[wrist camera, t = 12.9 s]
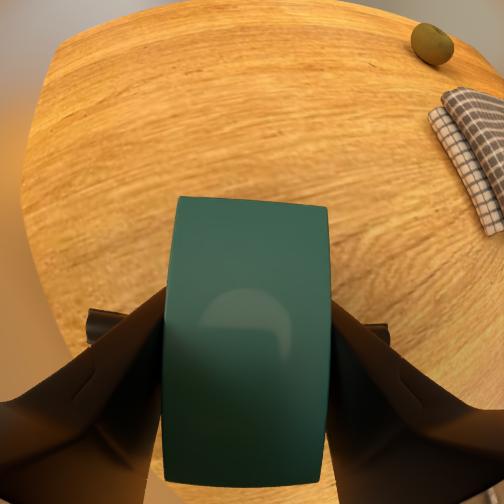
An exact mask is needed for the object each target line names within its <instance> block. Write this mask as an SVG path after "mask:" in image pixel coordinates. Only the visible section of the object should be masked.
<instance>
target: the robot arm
mask: <svg viewBox="0 0 504 504" xmlns="http://www.w3.org/2000/svg"><path fill="white" fill-rule="evenodd" d="M166 288H167V286H166V287H164V288H163V289H162V290H160V291H159V292H158V293H156V294H155V295H154V296H152V297H151V298H150V299H149V300H147V301H146V302H145V303H144V304H142V305H141V306H140V307H138V308H137V309H136V310H135V311H133V312H132V313H131V314H130V315H128V316H127V317H126V318H124V319H123V320H122V321H121V322H119V323H118V324H117V325H116V326H114V327H113V328H112V329H111V330H109V331H108V332H107V333H106V334H104V335H103V336H102V337H101V338H99V339H98V340H97V341H96V342H94V343H93V344H92V345H91V348H90V347H88V348H87V349H86V350H85V351H83V352H82V353H81V354H80V355H78V356H77V357H76V358H74V359H73V360H72V361H71V362H69V363H68V364H67V365H65V366H64V367H63V368H61V369H60V370H58V371H57V372H55V373H54V374H52V375H51V376H50V377H48V378H46V379H45V380H43V381H42V382H41V383H39V384H38V385H36V386H35V387H33V388H32V389H30V390H29V391H27V392H26V393H24V394H23V395H21V396H19V397H18V398H15V399H13V400H10V401H7V402H0V504H143V500H144V494H145V488H146V483H147V480H146V479H147V478H148V472H149V467H150V462H151V457H152V453H153V448H154V443H155V439H156V434H157V430H158V425H159V421H160V416H161V370H162V344H163V326H164V312H165V299H166ZM326 434H327V439H328V444H329V449H330V454H331V459H332V465H333V470H334V475H335V480H336V487H337V493H338V498H339V504H504V410H483V409H477V408H474V407H471V406H469V405H467V404H466V403H464V402H463V401H461V400H460V399H458V398H457V397H455V396H454V395H452V394H451V393H450V392H448V391H447V390H445V389H444V388H442V387H441V386H439V385H438V384H437V383H435V382H434V381H432V380H431V379H430V378H428V377H427V376H425V375H424V374H423V373H422V372H420V371H419V370H418V369H416V368H415V367H414V366H413V365H411V364H410V363H409V362H408V361H407V360H405V359H404V358H401V356H400V355H399V354H398V353H397V352H396V351H394V350H393V349H392V348H391V347H390V346H388V345H387V344H386V343H385V342H383V341H382V340H381V339H380V338H379V337H377V336H376V335H375V334H374V333H372V332H371V331H370V330H369V329H368V328H366V327H365V326H364V325H363V324H361V323H360V322H359V321H358V320H357V319H355V318H354V317H353V316H352V315H350V314H349V313H348V312H347V311H345V310H344V309H343V308H342V307H340V306H339V305H338V304H337V303H336V302H334V301H333V300H332V299H331V361H330V382H329V398H328V411H327V422H326Z"/></svg>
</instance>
